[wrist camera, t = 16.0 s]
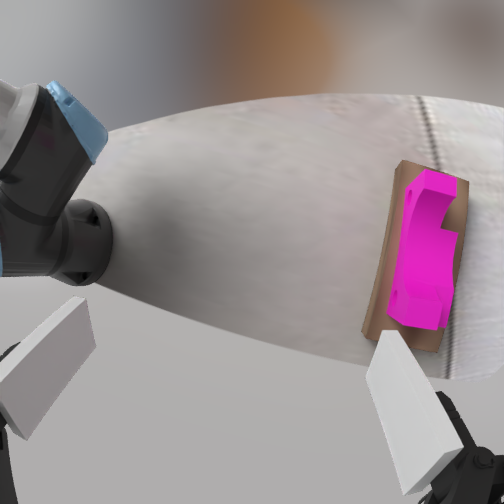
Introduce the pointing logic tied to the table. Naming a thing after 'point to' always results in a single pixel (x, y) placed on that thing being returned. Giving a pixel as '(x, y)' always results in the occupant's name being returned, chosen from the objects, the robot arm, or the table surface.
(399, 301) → the toy block
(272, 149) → the table surface
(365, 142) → the table surface
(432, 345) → the base brick
